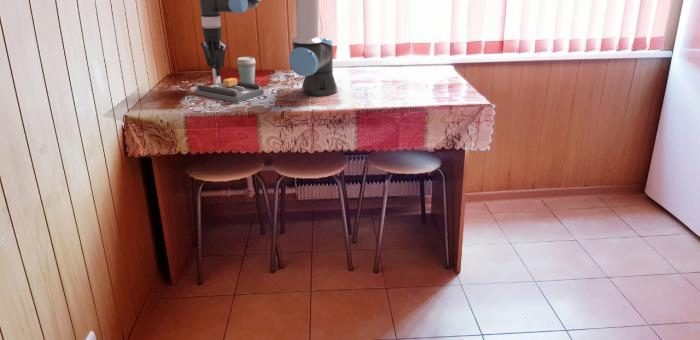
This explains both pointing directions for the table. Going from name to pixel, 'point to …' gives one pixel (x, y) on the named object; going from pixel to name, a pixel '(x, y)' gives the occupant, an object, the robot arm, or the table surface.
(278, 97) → the table surface
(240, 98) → the slide switch panel
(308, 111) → the table surface
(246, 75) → the coffee cup
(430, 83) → the table surface
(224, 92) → the pair of grey bars
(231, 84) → the lever
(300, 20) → the robot arm
